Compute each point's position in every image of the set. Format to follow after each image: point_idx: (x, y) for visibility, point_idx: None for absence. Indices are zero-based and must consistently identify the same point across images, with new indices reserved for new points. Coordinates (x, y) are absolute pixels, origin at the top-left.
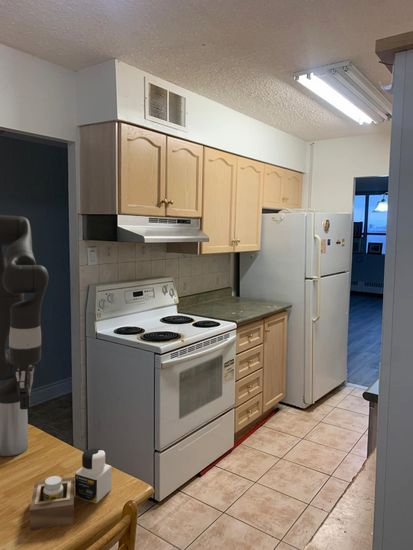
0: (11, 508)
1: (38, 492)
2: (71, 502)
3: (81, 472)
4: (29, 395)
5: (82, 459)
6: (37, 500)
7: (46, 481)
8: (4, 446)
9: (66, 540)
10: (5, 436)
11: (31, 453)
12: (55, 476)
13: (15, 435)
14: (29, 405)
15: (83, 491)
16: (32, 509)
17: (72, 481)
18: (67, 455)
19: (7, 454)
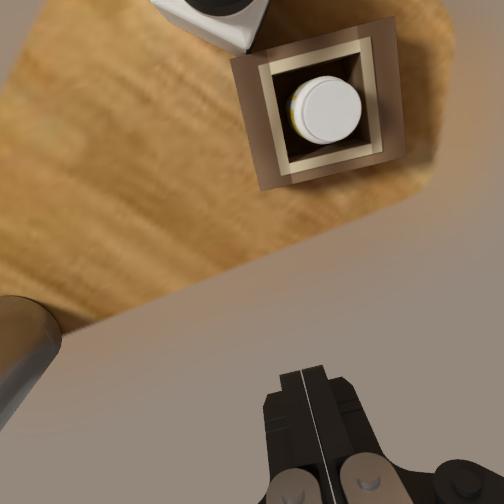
0: (295, 227)
1: (323, 159)
2: (383, 26)
3: (251, 17)
4: (335, 450)
5: (241, 3)
6: (365, 148)
7: (339, 135)
8: (47, 355)
9: (439, 29)
10: (30, 374)
11: (27, 274)
12: (308, 111)
13: (15, 349)
14: (304, 376)
15: (263, 18)
16: (404, 149)
17: (258, 59)
18: (10, 157)
19: (58, 333)
